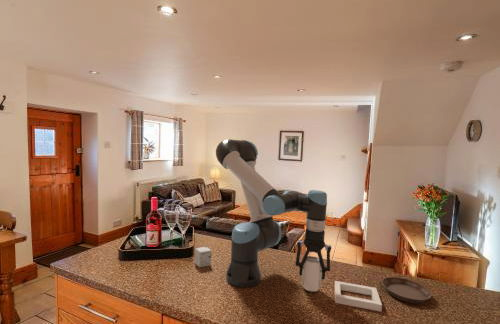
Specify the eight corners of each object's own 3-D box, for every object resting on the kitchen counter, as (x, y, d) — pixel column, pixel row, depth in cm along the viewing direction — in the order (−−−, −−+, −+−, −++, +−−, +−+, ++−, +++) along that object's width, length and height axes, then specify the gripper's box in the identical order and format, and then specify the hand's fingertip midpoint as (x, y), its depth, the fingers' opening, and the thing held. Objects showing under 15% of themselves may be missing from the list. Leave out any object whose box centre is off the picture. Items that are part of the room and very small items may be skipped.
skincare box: (199, 267, 127) (199, 252, 126) (194, 262, 132) (194, 248, 132) (211, 265, 130) (211, 250, 130) (205, 260, 135) (206, 246, 135)
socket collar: (335, 302, 102) (335, 296, 102) (334, 286, 115) (334, 280, 115) (381, 311, 98) (381, 304, 98) (375, 293, 110) (376, 287, 110)
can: (319, 293, 107) (321, 263, 106) (302, 290, 108) (304, 261, 108) (318, 285, 113) (320, 257, 113) (303, 283, 115) (305, 255, 114)
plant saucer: (435, 295, 112) (435, 288, 112) (425, 312, 99) (425, 304, 99) (389, 279, 124) (389, 273, 124) (375, 293, 112) (375, 285, 112)
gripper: (290, 228, 109) (286, 284, 110) (340, 235, 103) (336, 294, 105) (292, 223, 116) (289, 276, 117) (339, 229, 110) (335, 284, 112)
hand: (311, 284), depth 111 cm, fingers closed on can, 6 cm apart
